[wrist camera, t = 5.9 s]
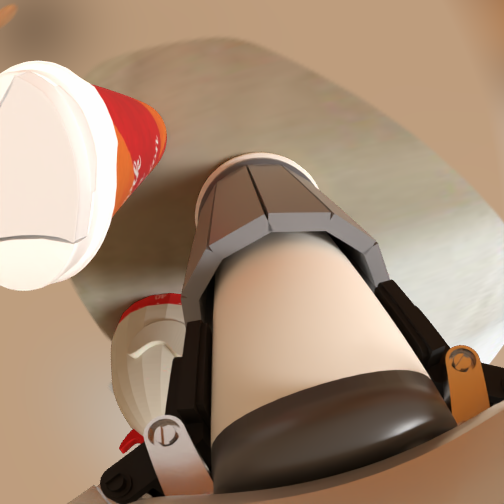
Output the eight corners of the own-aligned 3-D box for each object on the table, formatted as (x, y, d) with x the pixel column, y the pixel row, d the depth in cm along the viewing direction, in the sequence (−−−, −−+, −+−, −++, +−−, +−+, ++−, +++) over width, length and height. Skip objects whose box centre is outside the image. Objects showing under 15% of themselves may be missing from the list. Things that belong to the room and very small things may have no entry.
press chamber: (315, 268, 26) (369, 375, 14) (200, 272, 25) (187, 392, 14) (324, 153, 21) (420, 199, 10) (192, 154, 20) (151, 200, 9)
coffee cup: (105, 205, 21) (-8, 321, 8) (71, 115, 18) (-80, 146, 4) (199, 168, 21) (151, 267, 8) (165, 69, 17) (60, 0, 4)
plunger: (303, 264, 22) (399, 486, 7) (220, 267, 22) (223, 519, 6) (310, 182, 20) (500, 382, 4) (216, 183, 19) (189, 455, 4)
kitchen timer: (246, 386, 32) (258, 501, 19) (135, 384, 31) (113, 492, 18) (246, 291, 26) (267, 445, 13) (102, 292, 25) (39, 422, 12)
